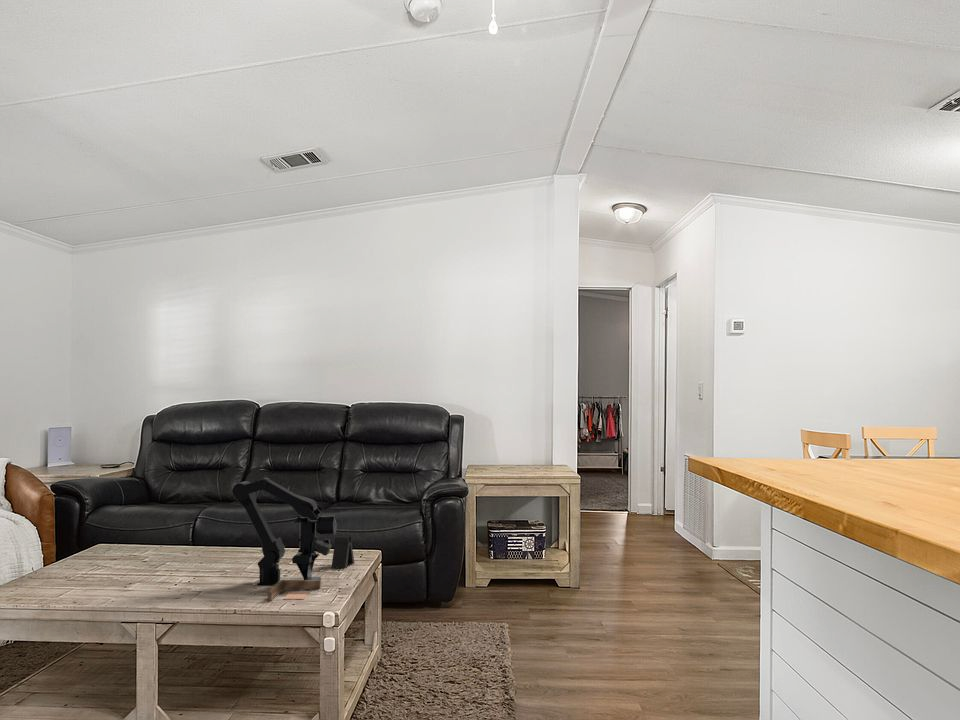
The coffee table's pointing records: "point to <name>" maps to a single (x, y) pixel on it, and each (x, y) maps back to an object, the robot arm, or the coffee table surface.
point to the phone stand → (342, 552)
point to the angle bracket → (310, 575)
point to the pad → (296, 595)
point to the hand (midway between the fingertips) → (307, 577)
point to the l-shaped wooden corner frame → (293, 586)
